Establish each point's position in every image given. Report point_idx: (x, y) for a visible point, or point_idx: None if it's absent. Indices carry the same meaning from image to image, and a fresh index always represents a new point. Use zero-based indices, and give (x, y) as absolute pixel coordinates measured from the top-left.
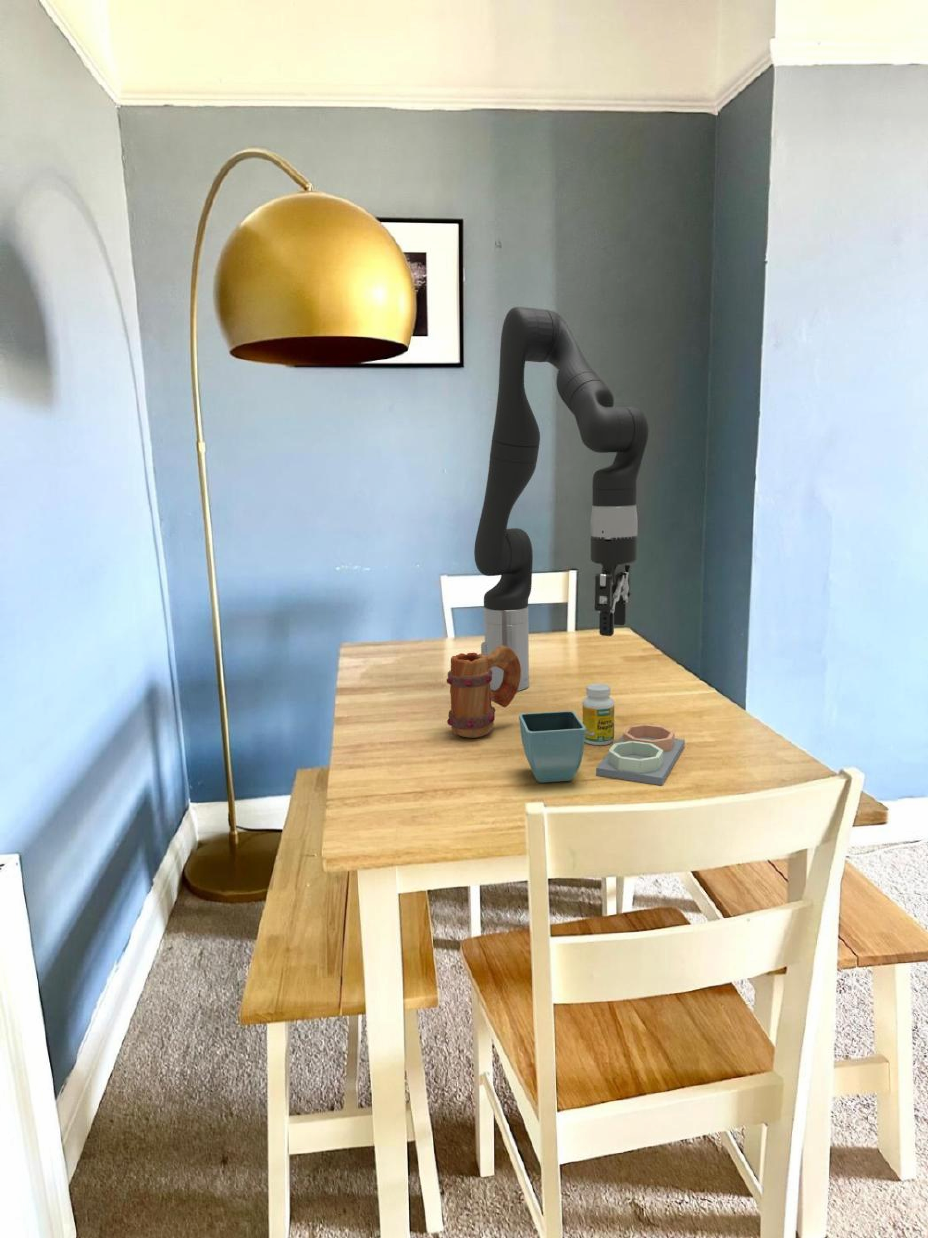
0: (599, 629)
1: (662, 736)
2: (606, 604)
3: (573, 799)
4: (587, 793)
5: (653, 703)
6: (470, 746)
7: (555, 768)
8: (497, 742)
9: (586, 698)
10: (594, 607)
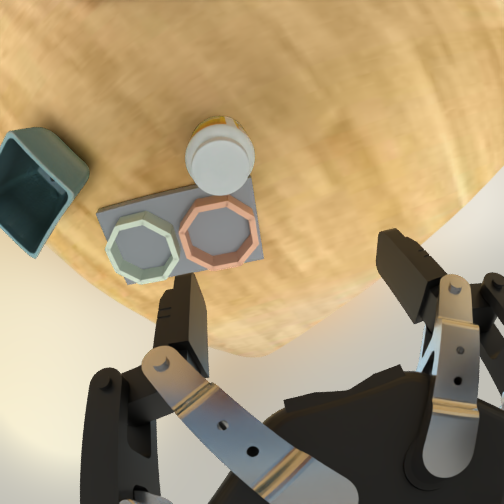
0: (174, 286)
1: (249, 238)
2: (127, 423)
3: None
4: (57, 227)
5: (418, 154)
6: (84, 3)
7: (34, 198)
8: (118, 17)
9: (204, 139)
10: (95, 381)
